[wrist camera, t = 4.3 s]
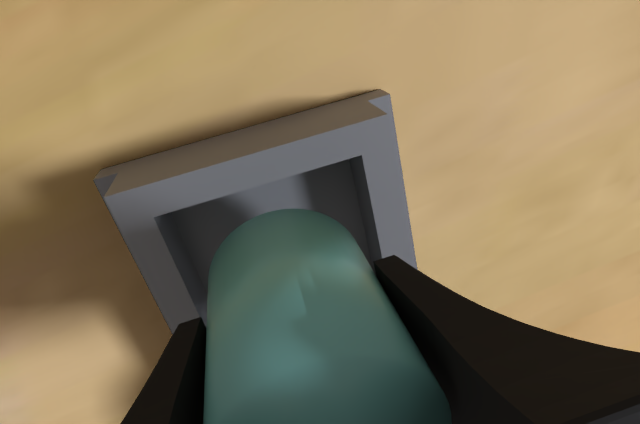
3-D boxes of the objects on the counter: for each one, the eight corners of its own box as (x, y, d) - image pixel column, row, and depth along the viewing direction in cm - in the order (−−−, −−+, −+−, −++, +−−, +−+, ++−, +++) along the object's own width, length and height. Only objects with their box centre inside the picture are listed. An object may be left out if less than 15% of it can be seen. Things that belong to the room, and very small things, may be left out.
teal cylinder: (374, 313, 15) (461, 484, 10) (237, 359, 15) (248, 563, 9) (346, 188, 13) (438, 320, 7) (183, 237, 12) (158, 414, 7)
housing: (430, 392, 23) (494, 509, 18) (244, 457, 22) (253, 600, 17) (380, 89, 16) (463, 133, 10) (100, 169, 15) (35, 261, 10)
